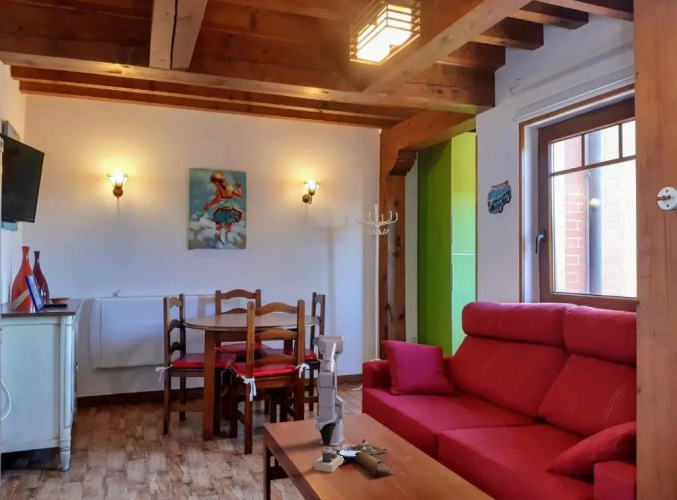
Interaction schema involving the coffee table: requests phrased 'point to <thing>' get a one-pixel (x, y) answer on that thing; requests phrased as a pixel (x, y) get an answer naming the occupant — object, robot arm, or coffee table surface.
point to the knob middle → (333, 454)
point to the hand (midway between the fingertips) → (326, 444)
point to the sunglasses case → (373, 465)
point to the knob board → (328, 464)
